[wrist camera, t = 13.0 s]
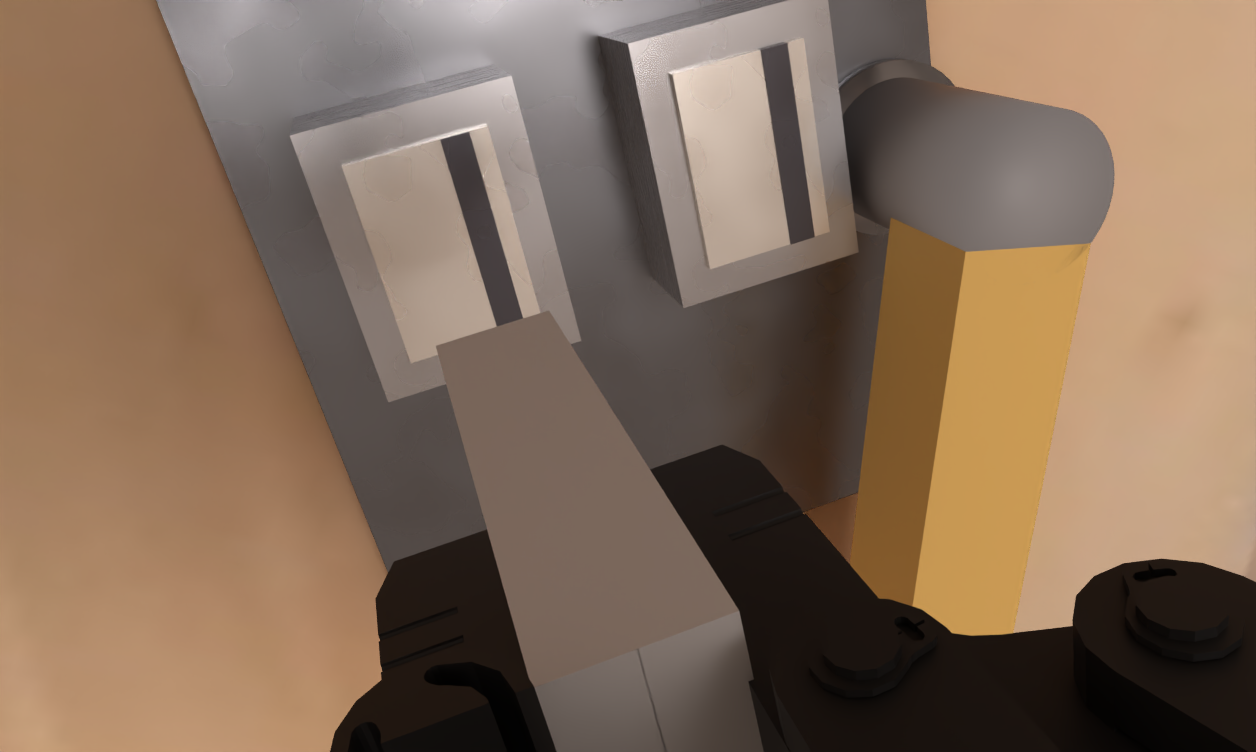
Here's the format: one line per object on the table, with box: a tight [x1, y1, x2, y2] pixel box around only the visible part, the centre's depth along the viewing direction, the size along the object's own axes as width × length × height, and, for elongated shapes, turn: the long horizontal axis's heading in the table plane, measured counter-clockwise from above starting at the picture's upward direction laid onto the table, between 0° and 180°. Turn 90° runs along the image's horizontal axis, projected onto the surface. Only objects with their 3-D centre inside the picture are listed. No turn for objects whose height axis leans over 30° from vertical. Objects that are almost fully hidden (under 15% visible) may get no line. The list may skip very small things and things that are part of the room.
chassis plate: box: [156, 0, 955, 572], centre depth 23 cm, size 22×18×4 cm
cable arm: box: [842, 77, 1114, 636], centre depth 25 cm, size 18×4×6 cm, turn 179°
